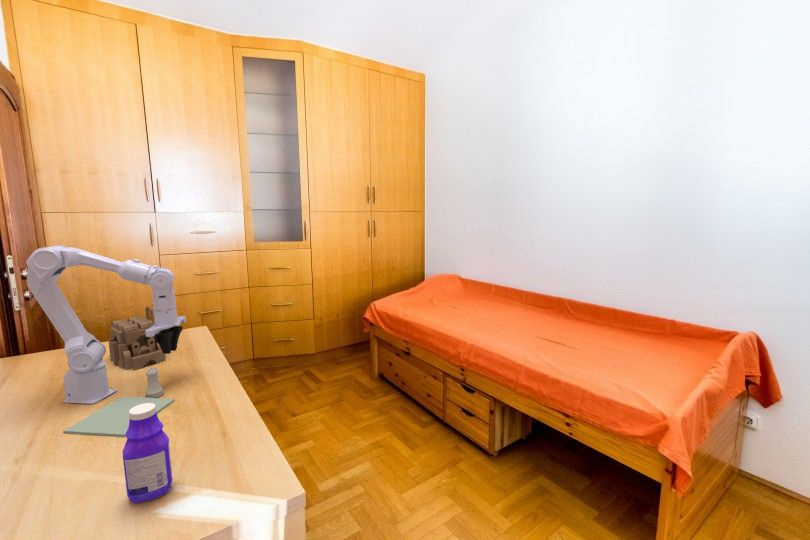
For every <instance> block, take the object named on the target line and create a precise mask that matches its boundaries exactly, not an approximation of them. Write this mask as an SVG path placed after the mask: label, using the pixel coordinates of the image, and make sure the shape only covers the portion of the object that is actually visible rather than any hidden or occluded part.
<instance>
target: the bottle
mask: <svg viewBox="0 0 810 540" xmlns="http://www.w3.org/2000/svg"><path fill="white" fill-rule="evenodd" d="M156 411H157V410H156V405H155V404H153V403H145V404H140V405H137V406H135V407H133V408H131V409H130V410H129V427H128V430H127V432H126V433H125V438H126V441H125V443H124V444H125V445H124V447H123V449H122V460H123V462H122V463H123V470H124V479H125V488H126V495H127V497H128V500H129V501H130V502H131V503H135V504H138V503H143V502H147V501H152V500H154V499H157V498H160V497H162V496H164V495H165V494H167V493H168V491H169V490H170V489H171V486H172V482H173V479H174V478H173V470H172V469H173V467H172V458H171V450H170V449H171V448H170V447H171V446H170V438H169V437H168V436H169V435H167V433H166V432H165V431H164V430H163V428H164V424H163V422H162V421H161V420H160V419H159V416H158V413H157V412H156Z"/></svg>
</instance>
